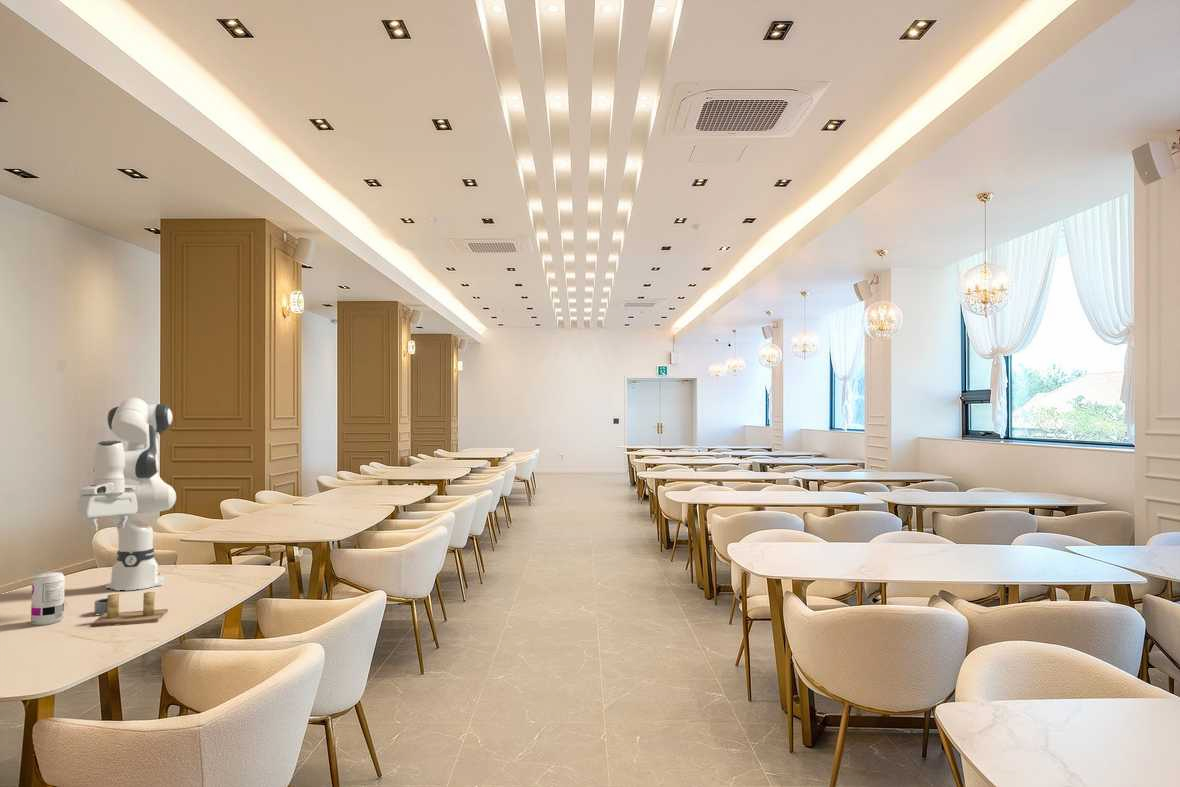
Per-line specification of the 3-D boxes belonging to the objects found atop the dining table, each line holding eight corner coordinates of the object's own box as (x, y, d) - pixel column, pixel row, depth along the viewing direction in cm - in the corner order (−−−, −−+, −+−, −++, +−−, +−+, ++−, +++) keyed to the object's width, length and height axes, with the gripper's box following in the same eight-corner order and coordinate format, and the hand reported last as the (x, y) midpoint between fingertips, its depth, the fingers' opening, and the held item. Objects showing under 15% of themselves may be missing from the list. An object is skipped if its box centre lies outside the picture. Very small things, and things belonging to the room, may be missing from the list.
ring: (98, 610, 235) (98, 598, 235) (120, 609, 237) (121, 597, 237) (91, 616, 229) (91, 603, 229) (114, 614, 231) (114, 602, 231)
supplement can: (25, 626, 217) (27, 577, 217) (38, 619, 225) (40, 572, 225) (56, 624, 219) (57, 576, 220) (68, 617, 227) (69, 570, 227)
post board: (104, 616, 228) (105, 591, 229) (167, 611, 234) (168, 587, 234) (91, 626, 217) (91, 600, 217) (157, 621, 223) (158, 596, 223)
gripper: (127, 487, 248) (127, 527, 246) (73, 490, 228) (72, 533, 226) (142, 486, 246) (142, 526, 245) (89, 489, 227) (89, 532, 225)
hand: (108, 529), depth 235 cm, fingers open, 8 cm apart
